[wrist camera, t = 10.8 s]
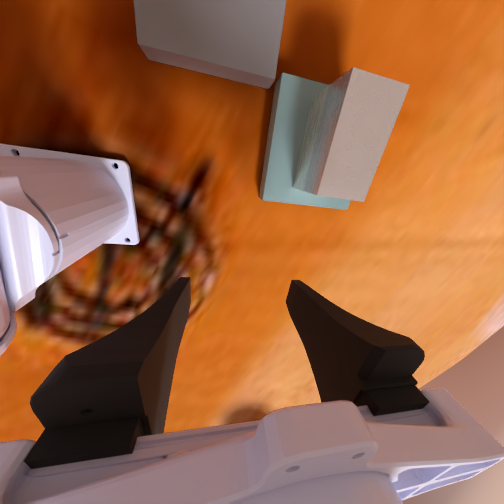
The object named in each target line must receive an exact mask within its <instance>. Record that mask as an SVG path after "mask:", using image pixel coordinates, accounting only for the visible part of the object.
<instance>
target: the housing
mask: <svg viewBox="0 0 504 504" xmlns="http://www.w3.org/2000/svg"><path fill="white" fill-rule="evenodd" d="M409 86H410V85H408V84H405V83H402V82H398V81H395V80H392V79H389V78H386V77H383V76H379V75H376V74H373V73H370V72H367V71H364V70H360V69H357V68H354V67H353V68H352V69H350V70H349V71H348V72H346V73H345V74H344V75H342V76H341V77H340V78H338V79H337V80H335V81H334V82H333V83H331V84H330V85H329V86H327V87H326V88H325V89H323V90H322V91H321V92H319V93H318V94H317V95H315V96H314V97H313V98H312V102H311V107H310V111H309V116H308V120H307V125H306V129H305V134H304V138H303V142H302V147H301V151H300V156H299V160H298V165H297V169H296V174H295V178H294V182H293V187H292V188H295V189H298V190H302V191H305V192H308V193H311V194H314V195H319V196H326V197H333V198H340V199H347V200H354V201H361V202H364V200H365V197H366V195H367V192H368V190H369V187H370V185H371V182H372V180H373V177H374V175H375V172H376V170H377V167H378V165H379V162H380V160H381V157H382V155H383V152H384V149H385V147H386V144H387V142H388V139H389V137H390V134H391V132H392V129H393V127H394V124H395V122H396V119H397V117H398V114H399V112H400V109H401V106H402V104H403V101H404V99H405V96H406V94H407V91H408V89H409Z"/></svg>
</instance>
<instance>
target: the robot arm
mask: <svg viewBox="0 0 504 504" xmlns="http://www.w3.org/2000/svg"><path fill="white" fill-rule="evenodd" d="M16 150H17V151H18V152H19V154H20V155H18V154H17V153H16ZM114 163H117V164H118V169H116V168H115V167H114ZM126 238H129V239H130V241H128V240H127V239H126ZM139 240H140V239H139V232H138V225H137V218H136V211H135V203H134V196H133V189H132V182H131V175H130V167H129V165H128V163H127V162H125V161H122V160H115V159H108V158H101V157H94V156H86V155H79V154H72V153H65V152H58V151H50V150H43V149H36V148H29V147H22V146H14V145H7V144H0V355H1V354H2V353H3V352H4V351H5V350H6V349H7V347H8V346H9V345H10V343H11V342H12V340H13V338H14V336H15V333H16V328H17V323H16V319H15V315H14V313H13V312H15V311H17V310H18V309H20V308H21V307H22V306H24V305H25V304H27V303H28V302H29V301H31V300H32V299H34V298H35V291H36V289H37V288H38V287H39V286H40V285H41V284H42V283H44V282H45V281H47V280H48V279H50V278H51V277H53V276H54V275H56V274H58V273H59V272H61V271H62V270H64V269H65V268H67V267H68V266H70V265H71V264H73V263H74V262H76V261H77V260H79V259H80V258H82V257H83V256H85V255H86V254H88V253H89V252H91V251H92V250H94V249H95V248H97V247H98V246H100V245H101V244H103V243H111V244H129V245H136V244H137V243H139ZM190 302H191V298H190V277H180V278H179V279H178V280H177V281H176V282H175V284H174V285H173V286H172V287H171V288H170V289H169V290H168V291H167V292H166V293H165V294H164V295H163V296H162V297H161V298H160V299H158V300H157V301H156V302H155V303H154V304H153V305H152V306H150V307H149V308H148V309H147V310H146V311H144V312H143V313H142V314H140V315H139V316H138V317H136V318H135V319H133V320H131V321H130V322H128V323H127V324H125V325H124V326H122V327H121V328H119V329H117V330H116V331H114V332H112V333H110V334H108V335H107V336H105V337H103V338H101V339H99V340H97V341H95V342H93V343H91V344H89V345H87V346H85V347H83V348H81V349H79V350H77V351H75V352H72V353H70V354H68V355H66V356H65V357H64V358H63V359H62V360H61V361H60V362H59V363H58V365H57V366H56V367H55V368H54V369H53V370H52V372H51V373H50V374H49V375H48V377H47V378H46V379H45V380H44V382H43V383H42V384H41V385H40V387H39V388H38V389H37V390H36V391H35V393H34V394H33V395H32V396H31V400H30V405H31V408H32V410H33V412H34V413H35V415H36V416H37V418H38V419H39V420H40V422H41V423H42V425H43V426H44V427H45V430H44V431H43V433H42V434H41V436H40V437H39V439H38V440H37V442H36V441H33V440H16V441H8V442H0V504H403V502H402V501H401V500H404V499H407V498H410V497H413V496H416V495H419V494H421V493H424V492H427V491H430V490H433V489H436V488H439V487H442V486H446V485H449V484H452V483H455V482H459V481H462V480H466V479H470V478H472V477H473V476H475V475H477V474H479V473H480V472H482V471H484V470H486V469H487V468H489V467H491V466H492V465H494V464H496V463H498V462H499V461H501V460H503V459H504V447H503V446H502V445H501V444H500V443H499V442H498V441H497V440H496V439H495V438H494V437H493V436H492V435H491V434H490V433H489V432H488V431H487V430H486V429H485V428H484V427H483V426H482V425H481V424H480V423H479V422H478V421H477V420H476V419H475V418H474V417H473V416H472V415H471V414H470V413H469V412H468V411H467V410H466V409H465V408H464V407H463V406H462V405H461V404H460V403H459V402H458V401H457V400H456V399H454V397H453V396H452V395H451V394H450V393H449V392H448V391H447V390H446V389H445V388H443V387H436V388H428V389H424V390H422V391H420V390H419V389H418V388H417V387H416V386H415V385H416V384H417V381H416V380H415V378H414V377H413V376H412V374H413V373H414V372H415V371H416V370H417V368H418V367H419V366H420V365H421V363H422V362H423V360H424V357H425V355H424V351H423V350H422V349H421V348H420V347H419V346H418V345H417V344H416V343H415V342H414V341H413V340H412V339H410V338H409V337H406V336H403V335H400V334H397V333H394V332H391V331H389V330H386V329H383V328H381V327H378V326H376V325H374V324H371V323H369V322H367V321H365V320H362V319H360V318H358V317H356V316H354V315H352V314H350V313H349V312H347V311H345V310H343V309H341V308H340V307H338V306H336V305H335V304H333V303H332V302H330V301H329V300H327V299H326V298H324V297H323V296H321V295H320V294H319V293H317V292H316V291H314V290H313V289H312V288H310V287H309V286H307V285H306V284H305V283H303V282H302V281H300V280H292V281H291V284H290V288H289V292H288V296H287V299H286V304H287V308H288V311H289V314H290V316H291V318H292V321H293V323H294V325H295V327H296V329H297V331H298V334H299V336H300V338H301V340H302V342H303V345H304V347H305V350H306V353H307V356H308V358H309V361H310V364H311V368H312V371H313V374H314V377H315V380H316V384H317V387H318V391H319V394H320V398H321V402H322V403H315V404H307V405H299V406H292V407H285V408H282V409H278V410H274V411H273V412H271V413H269V414H267V415H266V416H264V417H263V419H262V420H256V421H249V422H242V423H235V424H228V425H220V426H213V427H206V428H199V429H191V430H184V431H177V432H170V433H163V432H164V426H165V420H166V414H167V408H168V402H169V396H170V390H171V385H172V379H173V374H174V369H175V363H176V358H177V353H178V349H179V346H180V342H181V339H182V336H183V332H184V329H185V325H186V322H187V318H188V314H189V308H190Z"/></svg>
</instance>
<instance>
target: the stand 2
mask: <svg viewBox="0 0 504 504" xmlns="http://www.w3.org/2000/svg"><path fill="white" fill-rule="evenodd" d="M327 86H329V85H328V84H324V83H320V82H316V81H313V80H309V79H305V78H302V77H298V76H294V75H290V74H287V73H283V72H282V74H281V75H280V77H279V78H278V80H277V81H276V83H275V89H274V96H273V103H272V110H271V117H270V124H269V130H268V137H267V144H266V151H265V158H264V165H263V172H262V179H261V186H260V192H259V198H261V199H262V200H265V201H274V202H283V203H291V204H300V205H309V206H318V207H326V208H335V209H344V210H347V209H348V206H349V204H350V201H351V200H347V199H340V198H333V197H326V196H319V195H314V194H311V193H308V192H305V191H302V190H298V189H295V188H292V187H293V182H294V178H295V174H296V169H297V165H298V160H299V156H300V151H301V147H302V142H303V138H304V134H305V129H306V125H307V120H308V116H309V111H310V107H311V102H312V98H313V97H314V96H315V95H317V94H318V93H319V92H321V91H322V90H323V89H325V88H326V87H327Z"/></svg>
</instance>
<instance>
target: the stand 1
mask: <svg viewBox="0 0 504 504" xmlns="http://www.w3.org/2000/svg"><path fill="white" fill-rule="evenodd" d="M133 1H134V11H135V21H136V32H137V42H138V45H139V46H140V48H141V49H142V51H143V52H144V54H145V55H146V57H147V58H148V60H151V61H155V62H160V63H164V64H168V65H172V66H176V67H180V68H184V69H188V70H192V71H196V72H200V73H204V74H209V75H213V76H217V77H221V78H225V79H229V80H233V81H237V82H241V83H245V84H249V85H253V86H257V87H262V88H266V89H269V88H270V87H271V85H272V83H273V82H274V80H275V76H276V69H277V62H278V55H279V48H280V41H281V34H282V27H283V21H284V14H285V7H286V0H133Z"/></svg>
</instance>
